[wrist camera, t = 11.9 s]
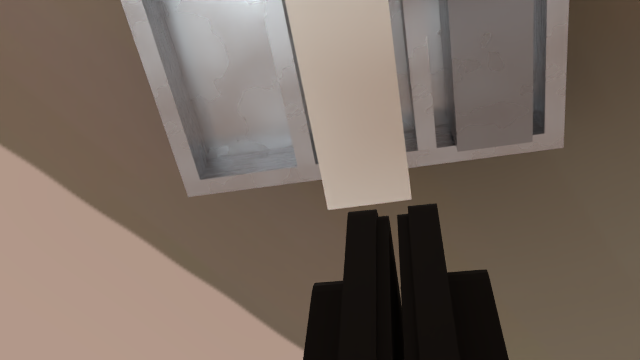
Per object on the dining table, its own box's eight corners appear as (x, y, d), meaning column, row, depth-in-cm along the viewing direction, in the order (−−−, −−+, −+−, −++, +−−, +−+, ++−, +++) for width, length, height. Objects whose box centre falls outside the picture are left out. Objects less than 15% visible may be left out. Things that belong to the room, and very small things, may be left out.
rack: (551, -149, 22) (585, -143, 19) (545, 126, 28) (570, 165, 25) (124, -67, 24) (91, -51, 21) (201, 173, 30) (185, 214, 27)
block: (374, -72, 23) (384, -33, 17) (397, 115, 27) (411, 199, 21) (298, -58, 23) (281, -15, 17) (332, 124, 27) (328, 209, 21)
